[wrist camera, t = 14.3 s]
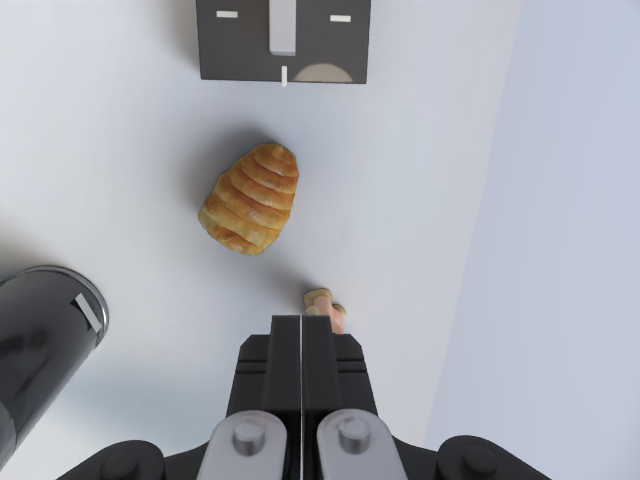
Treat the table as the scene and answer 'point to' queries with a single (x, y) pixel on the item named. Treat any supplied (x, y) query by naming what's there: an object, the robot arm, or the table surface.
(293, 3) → the grey block red tab
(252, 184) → the pastry
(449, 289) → the table surface
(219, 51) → the panel
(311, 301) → the grandmother figurine
